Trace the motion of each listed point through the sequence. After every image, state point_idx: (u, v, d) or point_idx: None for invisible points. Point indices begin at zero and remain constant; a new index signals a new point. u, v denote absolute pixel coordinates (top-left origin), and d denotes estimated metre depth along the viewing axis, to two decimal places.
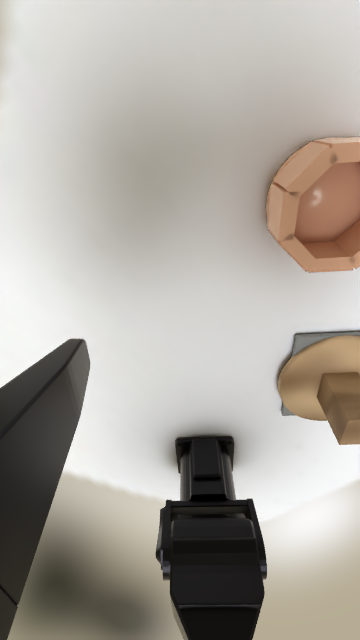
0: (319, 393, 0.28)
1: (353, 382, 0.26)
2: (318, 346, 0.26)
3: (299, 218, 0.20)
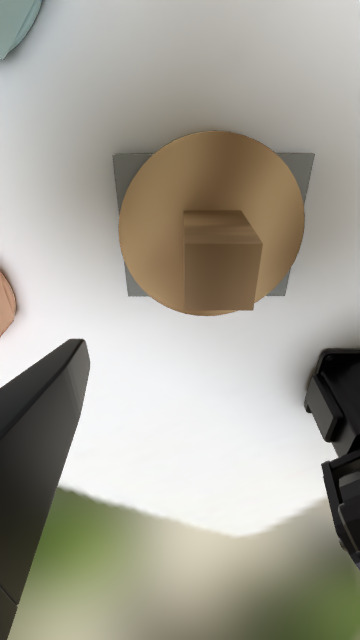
0: None
1: (183, 235, 0.15)
2: None
3: None
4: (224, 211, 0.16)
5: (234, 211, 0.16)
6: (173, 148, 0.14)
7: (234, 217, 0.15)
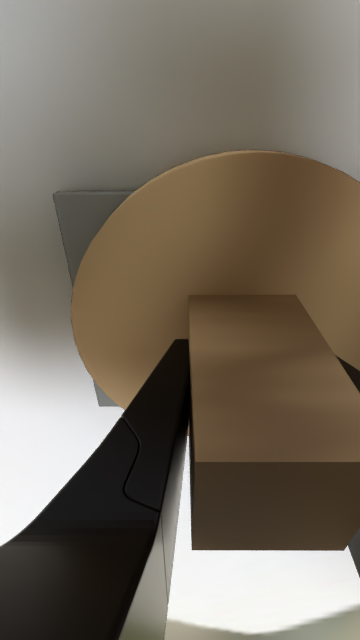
0: None
1: None
2: None
3: None
4: (265, 298, 0.08)
5: (283, 297, 0.08)
6: (169, 186, 0.07)
7: (290, 321, 0.07)
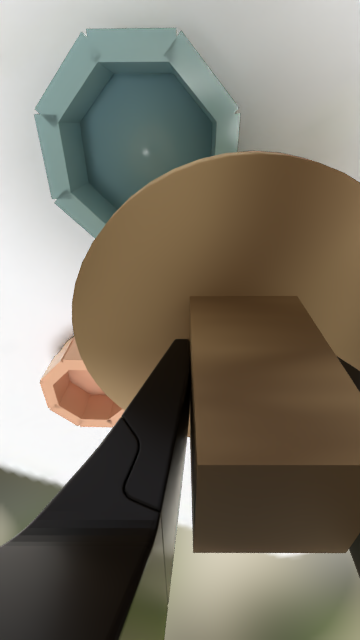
0: None
1: (190, 349, 0.08)
2: None
3: None
4: (267, 299, 0.08)
5: (285, 299, 0.08)
6: (170, 187, 0.07)
7: (292, 322, 0.07)
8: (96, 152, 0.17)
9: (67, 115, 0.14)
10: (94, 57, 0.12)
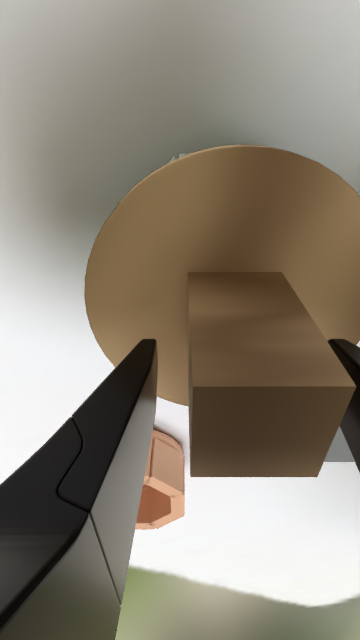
0: None
1: (188, 316, 0.09)
2: None
3: None
4: (255, 274, 0.10)
5: (270, 274, 0.10)
6: (171, 175, 0.08)
7: (275, 291, 0.09)
8: None
9: None
10: None
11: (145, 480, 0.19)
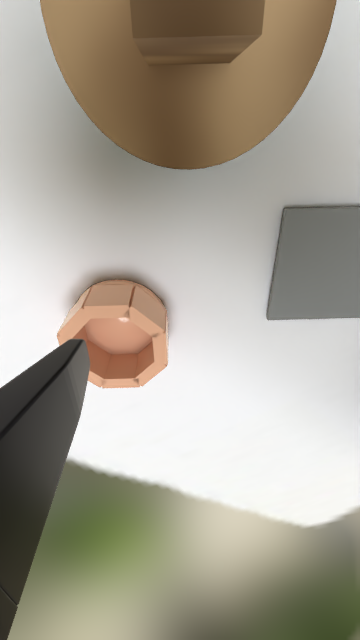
0: (207, 62, 0.11)
1: None
2: (75, 95, 0.12)
3: (134, 342, 0.24)
4: None
5: None
6: None
7: None
8: None
9: None
10: None
11: (125, 311, 0.19)
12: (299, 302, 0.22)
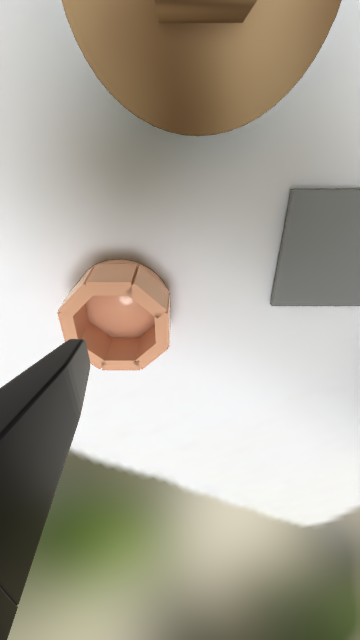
0: (220, 20, 0.11)
1: None
2: (84, 54, 0.12)
3: (136, 325, 0.23)
4: None
5: None
6: None
7: None
8: None
9: None
10: None
11: (127, 289, 0.19)
12: (304, 288, 0.22)
